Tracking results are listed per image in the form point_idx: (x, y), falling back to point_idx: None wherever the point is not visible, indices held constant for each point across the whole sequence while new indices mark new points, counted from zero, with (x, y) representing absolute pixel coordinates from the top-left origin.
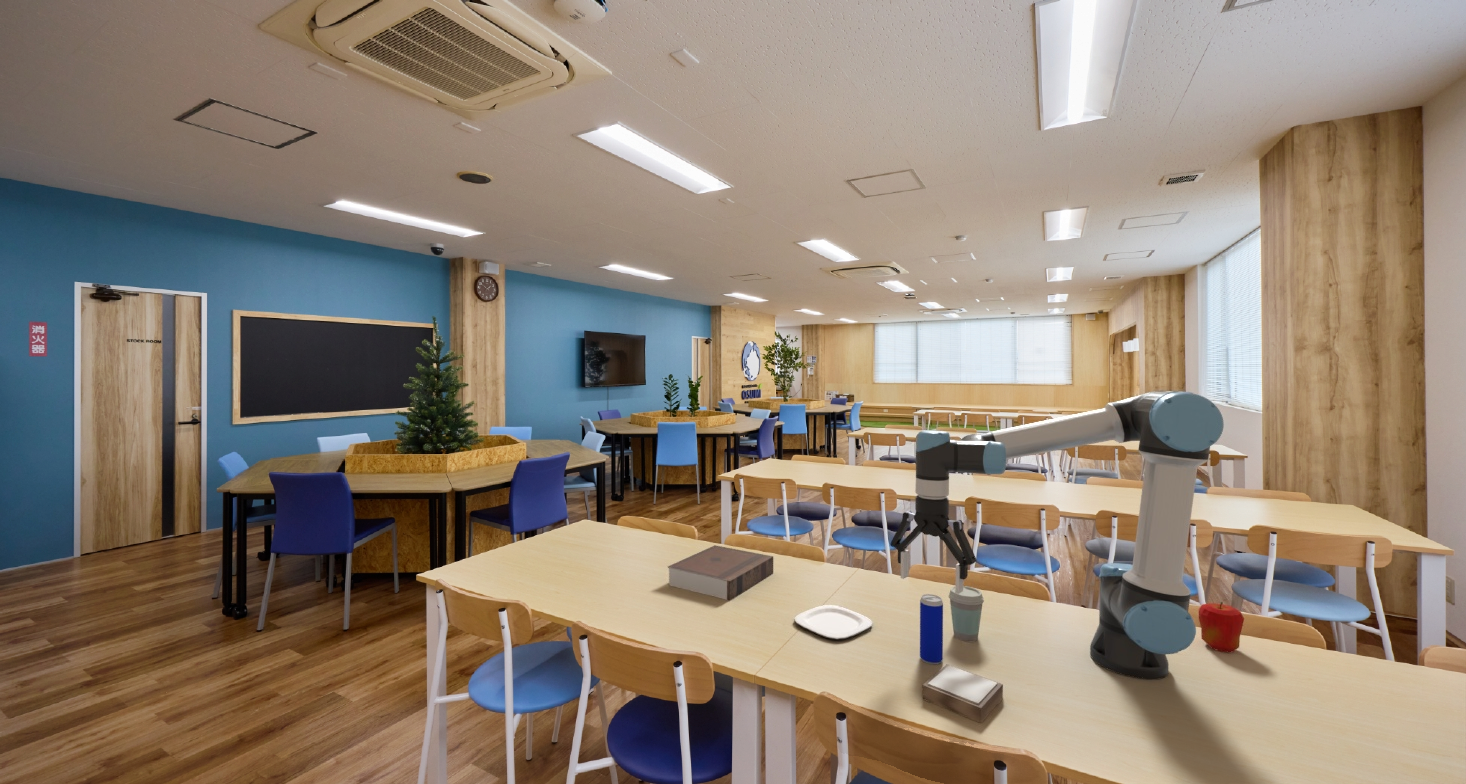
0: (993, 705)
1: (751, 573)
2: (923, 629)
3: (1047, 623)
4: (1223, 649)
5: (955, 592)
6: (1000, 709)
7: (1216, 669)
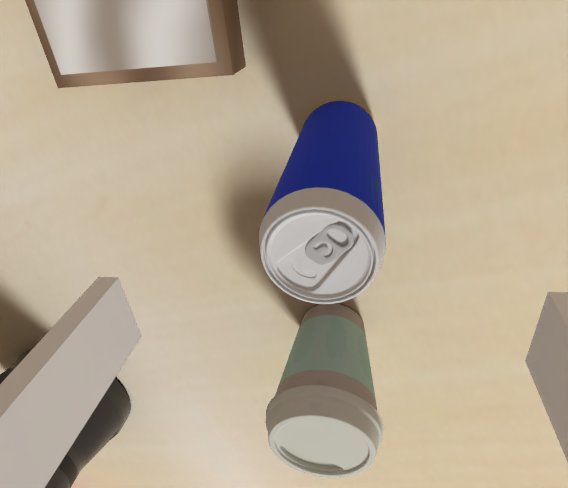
0: None
1: None
2: (345, 137)
3: (239, 453)
4: None
5: (115, 280)
6: None
7: None
